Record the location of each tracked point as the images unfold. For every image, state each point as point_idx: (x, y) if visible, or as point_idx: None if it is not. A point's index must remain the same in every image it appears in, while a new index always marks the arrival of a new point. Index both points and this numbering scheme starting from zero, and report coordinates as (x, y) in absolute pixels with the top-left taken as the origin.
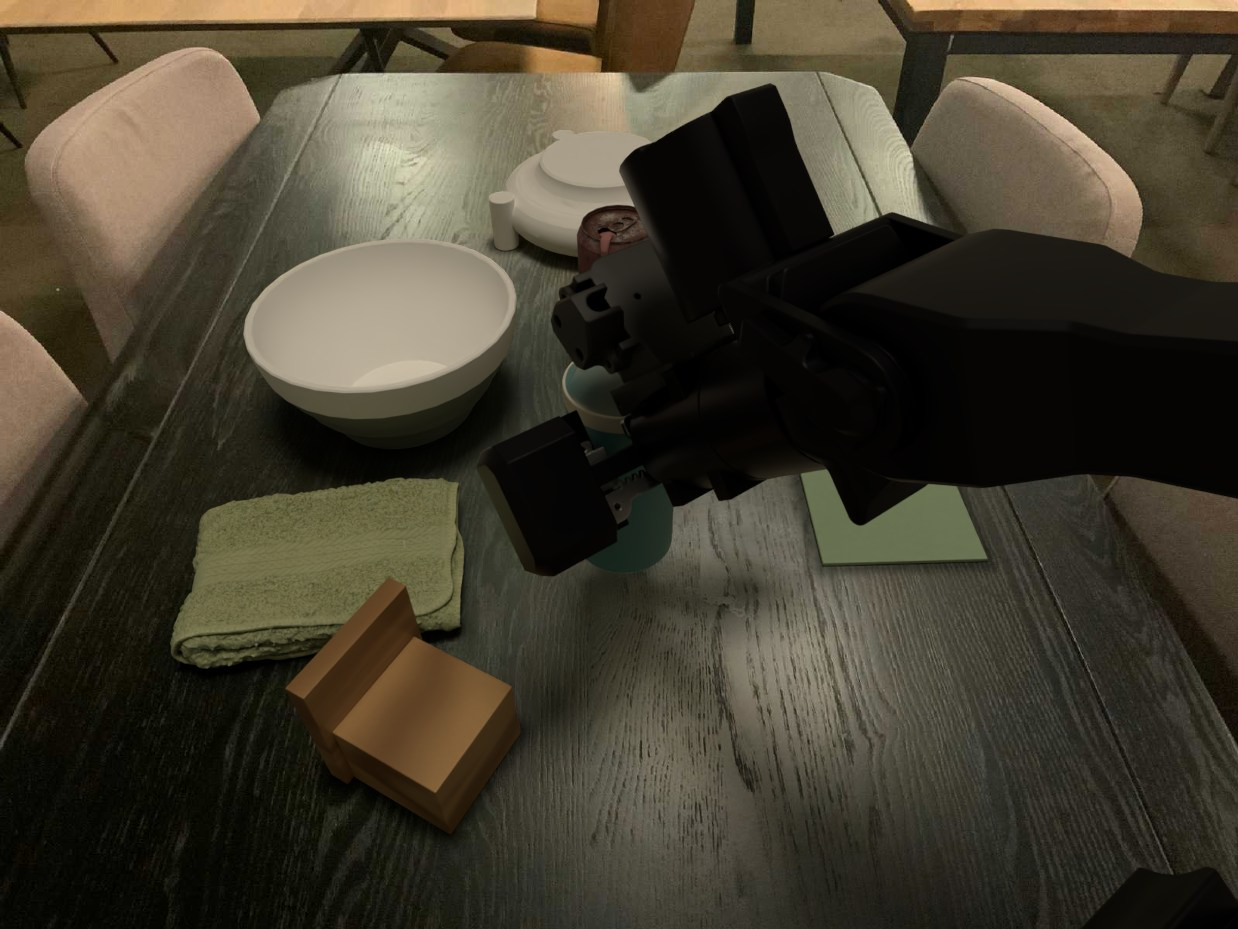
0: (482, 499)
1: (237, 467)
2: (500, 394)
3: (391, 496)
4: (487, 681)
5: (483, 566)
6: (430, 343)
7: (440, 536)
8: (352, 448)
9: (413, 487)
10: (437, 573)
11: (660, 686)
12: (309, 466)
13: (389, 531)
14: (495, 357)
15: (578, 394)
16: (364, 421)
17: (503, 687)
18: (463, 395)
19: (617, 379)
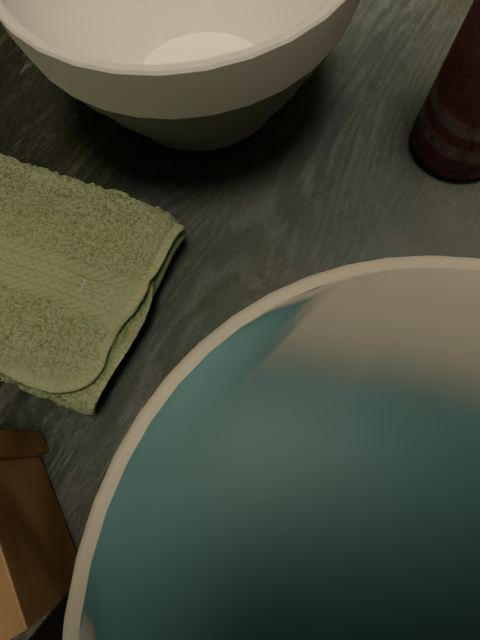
0: (212, 250)
1: (24, 101)
2: (303, 118)
3: (103, 214)
4: (6, 597)
5: (167, 338)
6: (258, 19)
7: (123, 294)
8: None
9: (130, 213)
10: (91, 345)
11: None
12: (80, 128)
13: (75, 261)
14: (284, 70)
15: (140, 613)
16: (89, 104)
17: (16, 623)
18: (222, 115)
19: (455, 623)
